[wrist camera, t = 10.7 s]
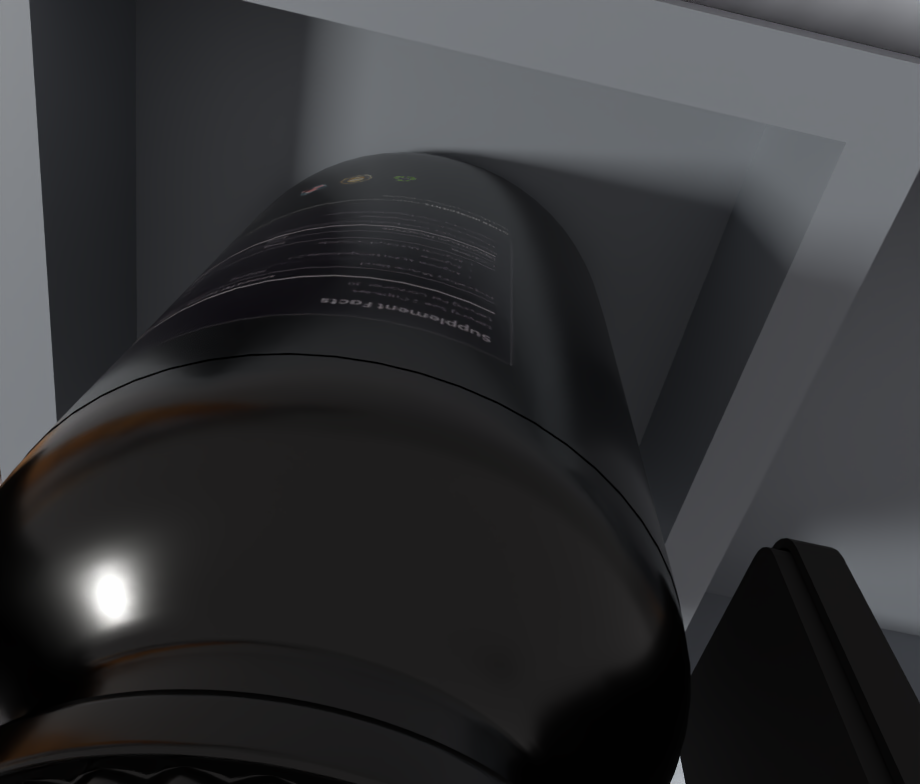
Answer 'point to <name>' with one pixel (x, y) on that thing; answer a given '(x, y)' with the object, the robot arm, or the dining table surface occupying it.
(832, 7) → the dining table surface
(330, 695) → the supplement bottle
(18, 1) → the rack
